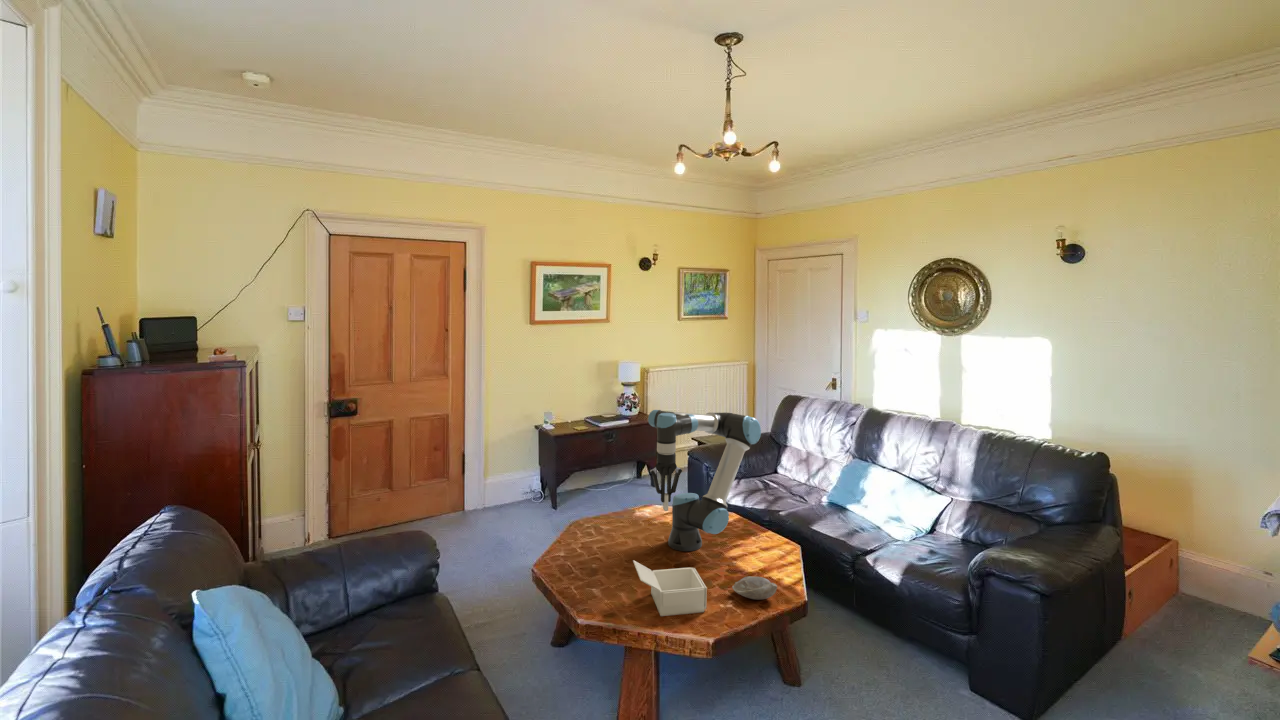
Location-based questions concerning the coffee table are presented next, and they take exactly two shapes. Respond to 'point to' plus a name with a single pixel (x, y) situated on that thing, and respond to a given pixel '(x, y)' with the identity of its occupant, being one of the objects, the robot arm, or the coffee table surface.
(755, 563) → the coffee table surface
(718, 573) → the coffee table surface
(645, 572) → the flap
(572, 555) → the coffee table surface
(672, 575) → the white open box
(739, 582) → the seashell
